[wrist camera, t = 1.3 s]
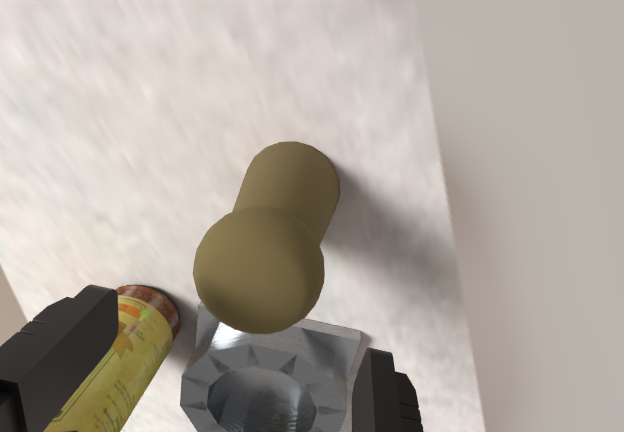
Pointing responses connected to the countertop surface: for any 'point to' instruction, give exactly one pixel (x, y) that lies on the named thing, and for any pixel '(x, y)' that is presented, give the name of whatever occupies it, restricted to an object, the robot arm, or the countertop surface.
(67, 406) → the sauce bottle
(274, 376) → the hub
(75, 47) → the countertop surface
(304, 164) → the cork
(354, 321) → the countertop surface
